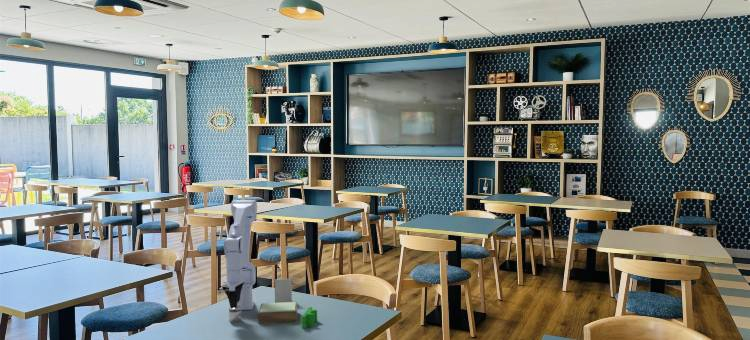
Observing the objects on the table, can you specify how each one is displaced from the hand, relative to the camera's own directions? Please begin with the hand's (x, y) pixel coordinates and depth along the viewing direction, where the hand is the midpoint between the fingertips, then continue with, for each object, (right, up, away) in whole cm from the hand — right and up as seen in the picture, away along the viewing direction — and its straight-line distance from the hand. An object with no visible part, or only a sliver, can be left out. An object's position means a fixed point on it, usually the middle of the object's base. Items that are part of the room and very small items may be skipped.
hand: (235, 304), depth 203 cm
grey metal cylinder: (0, -6, +1) cm, 6 cm away
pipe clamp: (+29, -7, -3) cm, 30 cm away
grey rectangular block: (+15, -5, +22) cm, 27 cm away
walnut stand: (+16, -6, +3) cm, 17 cm away
